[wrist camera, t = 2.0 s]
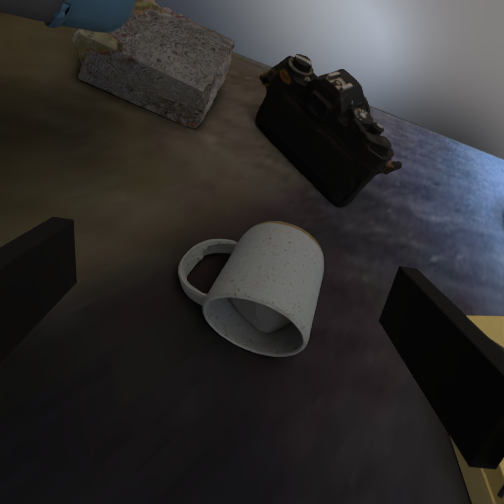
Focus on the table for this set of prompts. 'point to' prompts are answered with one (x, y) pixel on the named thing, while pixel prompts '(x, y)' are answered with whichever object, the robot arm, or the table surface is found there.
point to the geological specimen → (158, 62)
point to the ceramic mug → (261, 287)
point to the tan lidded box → (476, 479)
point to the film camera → (324, 128)
